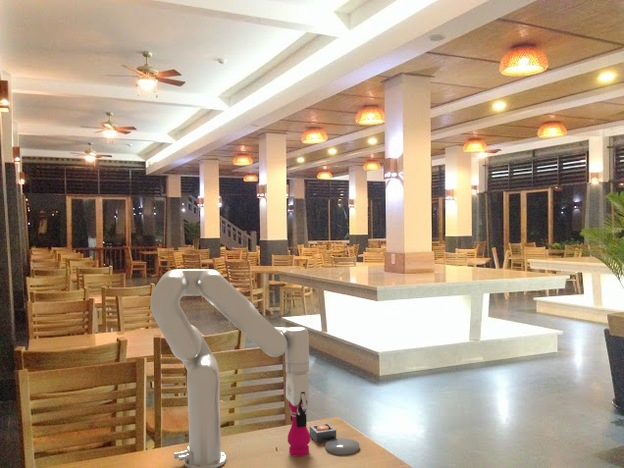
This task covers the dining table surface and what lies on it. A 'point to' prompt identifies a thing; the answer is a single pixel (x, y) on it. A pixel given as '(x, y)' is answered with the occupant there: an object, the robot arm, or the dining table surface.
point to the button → (322, 428)
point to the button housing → (322, 433)
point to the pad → (342, 446)
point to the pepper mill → (298, 436)
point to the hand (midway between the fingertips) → (298, 422)
